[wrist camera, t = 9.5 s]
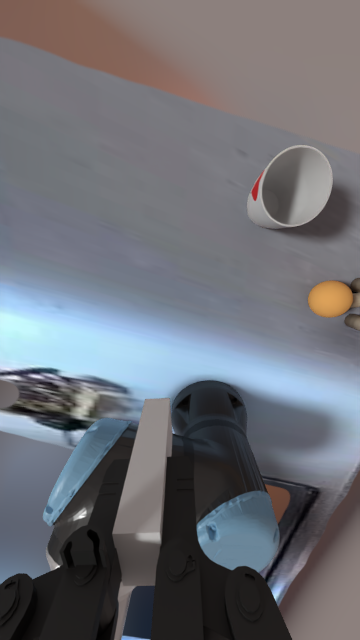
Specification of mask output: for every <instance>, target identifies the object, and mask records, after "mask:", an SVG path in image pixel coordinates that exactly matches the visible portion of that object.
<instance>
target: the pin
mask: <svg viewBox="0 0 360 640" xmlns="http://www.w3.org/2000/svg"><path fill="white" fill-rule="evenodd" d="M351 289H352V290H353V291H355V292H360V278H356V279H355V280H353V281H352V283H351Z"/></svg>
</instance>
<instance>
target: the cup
mask: <svg viewBox="0 0 360 640" xmlns="http://www.w3.org/2000/svg"><path fill="white" fill-rule="evenodd" d="M332 182H333V177H332V170H331V166H330V164H329V162H328V160H327V158H326V157H325V156H324V155H323V153H321V152H320V151H319V150H317V149H316V148H314V147H311V146H307V145H297V146H293V147H290V148H287V149H285V150H284V151H282V152H281V153H279V154H278V155H277V156H276V157H275V158H274V159H273V160H272V161H271V162H270V164H269V165H268V166H267V167H266V169H265V170H264V171H263V172H262V174H261V175H260V176H259V177H258V179H257V180H256V182H255V184H254V186H253V188H252V190H251V192H250V194H249V197H248V201H247V213H248V216H249V218H250V219H251V220H252V221H253V222H254V223H255V224H256V225H258V226H260V227H265V228H273V229H280V228H287V227H294V226H300V225H303V224H305V223H307V222H309V221H311V220H312V219H313V218H315V217H316V216H317V215H318V214H319V213H320V212H321V211H322V209H323V208H324V206H325V205H326V203H327V201H328V199H329V196H330V193H331V190H332Z"/></svg>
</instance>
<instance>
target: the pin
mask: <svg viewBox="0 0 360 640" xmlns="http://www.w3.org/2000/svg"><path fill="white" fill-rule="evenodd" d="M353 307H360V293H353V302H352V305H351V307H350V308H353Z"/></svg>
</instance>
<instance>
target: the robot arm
mask: <svg viewBox="0 0 360 640" xmlns="http://www.w3.org/2000/svg"><path fill="white" fill-rule="evenodd" d="M171 421H172V422H171ZM131 422H132V421H121V420H116V419H111V418H102V419H99V420H97V421H96V422H95V423H93V424H92V425H91V427H90V428H89V429H88V430H87V431H86V433H85V434H84V436H83V437H82V439H81V440H80V442H79V443H78V445H77V446H76V448H75V450H74V451H73V453H72V455H71V456H70V458H69V460H68V462H67V463H66V465H65V467H64V469H63V471H62V472H61V474H60V477H59V478H58V480H57V482H56V484H55V486H54V488H53V490H52V493H51V495H50V497H49V500H48V504H47V506H46V508H45V510H44V513H43V520H44V521H45V522H47V523H48V526H52V525H54V530H53V533H52V535H51V538H50V541H49V543H48V545H47V548H46V556H47V559H48V562H49V565H50V568H51V571H50V572H48V573H46V574H43V575H41V576H39V577H37V578H35V579H32V578H30V577H29V576H28V575H27V574H16V575H14V576H12V577H10V578H8V579H7V580H5V581H4V582H3V583H2V584H0V640H121V637H122V633H123V628H124V623H125V619H126V614H127V610H128V605H129V601H130V596H131V591H132V590H133V589H134V588H135V587H136V586H148V585H155V592H154V604H153V617H152V630H151V640H292V638H291V636H290V633H289V631H288V629H287V627H286V624H285V622H284V620H283V617H282V615H281V613H280V611H279V608H278V606H277V604H276V601H275V599H274V597H273V594H272V592H271V590H270V588H269V586H268V585H267V583H266V581H265V580H264V578H263V577H262V576H261V575H260V574H259V572H260V571H261V570H262V569H264V568H265V567H266V566H267V565H268V564H269V563H270V562H271V560H272V559H273V557H274V556H275V554H276V552H277V549H278V546H279V539H280V534H279V528H278V524H277V521H276V518H275V515H274V511H273V508H272V501H271V498H270V496H269V495H268V492H267V489H266V487H265V484H264V482H263V479H262V476H261V474H260V471H259V469H258V466H257V463H256V461H255V458H254V456H253V453H252V450H251V448H250V445H249V443H248V440H247V437H246V432H247V413H246V409H245V406H244V404H243V401H242V399H241V397H240V395H239V394H238V393H237V392H236V391H235V390H234V389H233V388H232V387H230V386H228V385H226V384H224V383H221V382H217V381H201V382H197V383H194V384H192V385H189V386H188V387H186V388H185V389H183V390H182V391H181V392H180V393H179V394H178V395H177V397H176V398H175V400H174V402H173V406H172V415H171V409H170V398H161V399H145V402H144V406H143V410H142V414H141V418H140V422H139V424H135V423H131ZM172 426H173V429H174V432H175V434H173V433H172Z"/></svg>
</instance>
